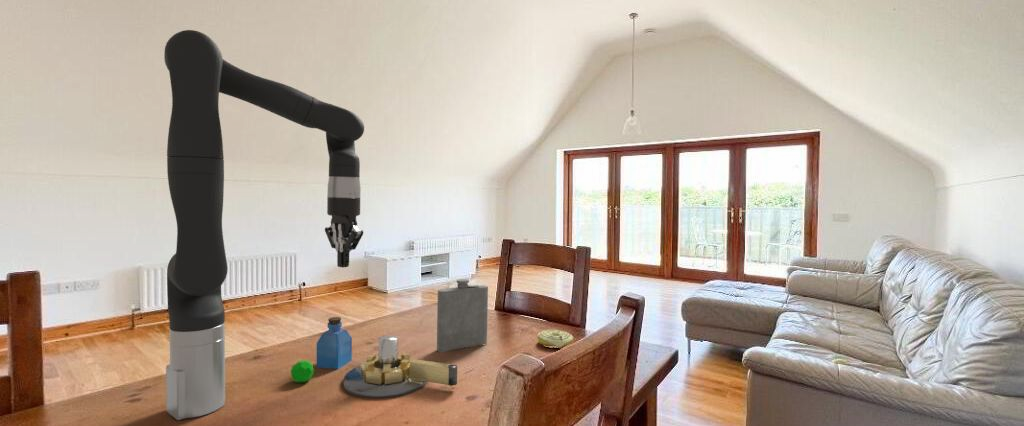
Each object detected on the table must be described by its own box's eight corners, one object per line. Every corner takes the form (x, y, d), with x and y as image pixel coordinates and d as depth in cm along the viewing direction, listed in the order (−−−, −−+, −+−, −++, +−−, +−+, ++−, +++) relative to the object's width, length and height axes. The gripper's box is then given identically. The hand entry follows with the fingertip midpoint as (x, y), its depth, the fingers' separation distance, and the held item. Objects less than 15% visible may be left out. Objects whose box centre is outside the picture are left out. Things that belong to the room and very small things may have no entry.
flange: (380, 407, 94) (381, 359, 93) (326, 382, 105) (326, 339, 105) (446, 376, 110) (447, 336, 110) (393, 358, 122) (393, 321, 121)
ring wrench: (350, 379, 104) (351, 362, 103) (380, 361, 115) (380, 346, 115) (445, 395, 97) (445, 377, 96) (466, 374, 108) (467, 358, 108)
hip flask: (439, 352, 127) (440, 283, 126) (434, 348, 130) (435, 280, 129) (488, 344, 135) (490, 278, 134) (482, 340, 138) (483, 276, 137)
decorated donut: (563, 353, 128) (563, 341, 128) (531, 346, 134) (531, 334, 134) (578, 343, 137) (578, 331, 137) (548, 337, 143) (548, 325, 143)
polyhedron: (307, 375, 109) (307, 356, 109) (317, 381, 106) (317, 361, 106) (286, 381, 105) (286, 361, 105) (296, 387, 102) (296, 367, 102)
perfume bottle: (338, 369, 113) (338, 322, 113) (316, 367, 115) (316, 320, 114) (351, 360, 119) (351, 316, 119) (330, 358, 121) (331, 314, 120)
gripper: (314, 195, 109) (313, 265, 110) (346, 196, 101) (345, 272, 102) (341, 195, 115) (340, 262, 116) (374, 196, 107) (373, 268, 108)
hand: (343, 266), depth 109 cm, fingers closed
